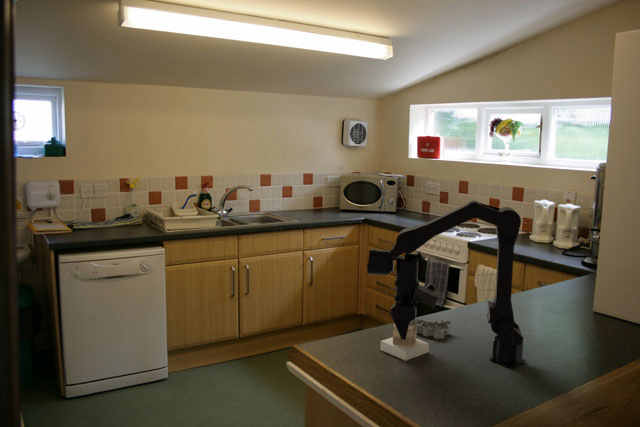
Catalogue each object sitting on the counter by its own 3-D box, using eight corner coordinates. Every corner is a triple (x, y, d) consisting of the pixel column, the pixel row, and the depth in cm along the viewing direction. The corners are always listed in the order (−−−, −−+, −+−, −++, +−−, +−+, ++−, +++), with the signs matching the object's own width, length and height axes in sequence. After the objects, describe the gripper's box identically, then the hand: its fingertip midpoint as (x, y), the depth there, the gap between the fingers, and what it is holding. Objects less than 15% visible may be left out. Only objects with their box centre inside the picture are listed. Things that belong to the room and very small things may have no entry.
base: (428, 352, 143) (428, 343, 143) (405, 360, 138) (405, 351, 137) (403, 342, 150) (403, 333, 150) (380, 349, 145) (380, 340, 144)
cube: (411, 347, 140) (411, 328, 140) (392, 343, 142) (393, 325, 142) (416, 340, 145) (416, 322, 144) (398, 337, 147) (399, 320, 146)
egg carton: (451, 334, 157) (452, 321, 157) (439, 341, 152) (440, 327, 151) (419, 326, 164) (420, 313, 164) (407, 332, 158) (407, 319, 158)
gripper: (437, 288, 130) (434, 349, 132) (438, 270, 148) (436, 324, 150) (391, 285, 133) (389, 345, 135) (398, 267, 151) (396, 320, 153)
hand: (405, 333), depth 143 cm, fingers open, 9 cm apart
